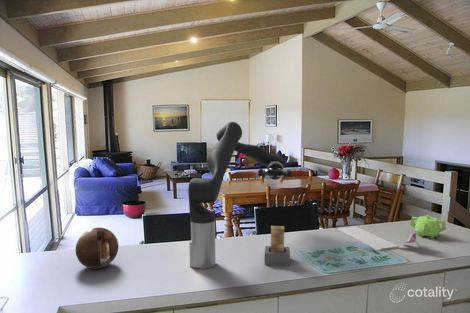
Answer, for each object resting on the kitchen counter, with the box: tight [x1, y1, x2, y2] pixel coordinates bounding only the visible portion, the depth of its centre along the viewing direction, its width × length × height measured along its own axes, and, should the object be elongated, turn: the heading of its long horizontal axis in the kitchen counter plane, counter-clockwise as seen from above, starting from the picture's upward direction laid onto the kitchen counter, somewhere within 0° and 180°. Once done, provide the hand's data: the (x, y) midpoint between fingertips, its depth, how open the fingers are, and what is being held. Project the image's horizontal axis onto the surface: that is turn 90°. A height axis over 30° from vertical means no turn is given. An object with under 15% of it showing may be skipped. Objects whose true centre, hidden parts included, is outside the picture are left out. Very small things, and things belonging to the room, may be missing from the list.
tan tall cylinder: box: [270, 225, 285, 253], centre depth 139 cm, size 5×4×13 cm
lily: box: [398, 228, 423, 251], centre depth 152 cm, size 12×12×10 cm
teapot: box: [409, 214, 447, 240], centre depth 169 cm, size 12×12×10 cm
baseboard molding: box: [336, 223, 400, 252], centre depth 166 cm, size 31×3×12 cm
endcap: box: [264, 245, 291, 267], centre depth 139 cm, size 10×8×5 cm
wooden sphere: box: [75, 227, 119, 270], centre depth 134 cm, size 15×15×15 cm
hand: (274, 175), depth 150 cm, fingers open, 8 cm apart
